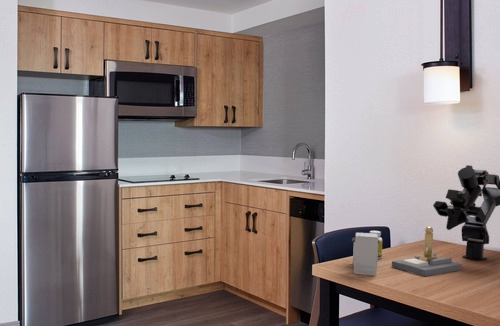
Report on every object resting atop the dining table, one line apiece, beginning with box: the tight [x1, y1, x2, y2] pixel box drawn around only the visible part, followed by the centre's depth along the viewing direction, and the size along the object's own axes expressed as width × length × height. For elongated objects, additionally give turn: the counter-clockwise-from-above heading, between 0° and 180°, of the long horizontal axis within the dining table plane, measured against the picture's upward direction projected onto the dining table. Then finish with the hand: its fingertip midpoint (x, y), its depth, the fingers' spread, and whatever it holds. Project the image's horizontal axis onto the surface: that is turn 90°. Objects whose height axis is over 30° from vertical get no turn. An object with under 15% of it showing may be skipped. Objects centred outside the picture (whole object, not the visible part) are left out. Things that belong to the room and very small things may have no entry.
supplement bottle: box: [369, 230, 383, 260], centre depth 202 cm, size 5×5×10 cm
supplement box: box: [353, 232, 378, 277], centre depth 180 cm, size 7×7×13 cm
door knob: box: [418, 226, 437, 263], centre depth 188 cm, size 5×3×12 cm, turn 124°
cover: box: [401, 257, 428, 267], centre depth 185 cm, size 6×6×1 cm
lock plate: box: [391, 252, 462, 277], centre depth 188 cm, size 19×14×4 cm
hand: (447, 228), depth 193 cm, fingers closed
